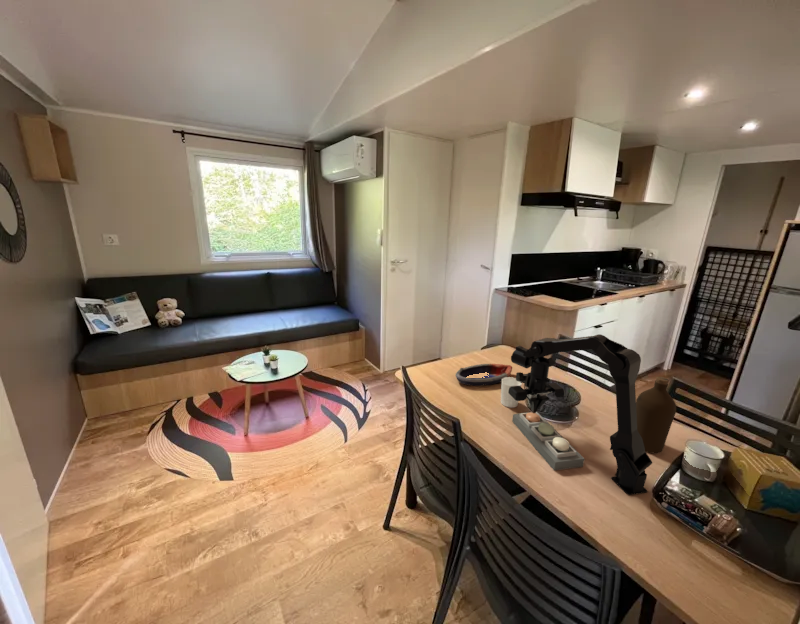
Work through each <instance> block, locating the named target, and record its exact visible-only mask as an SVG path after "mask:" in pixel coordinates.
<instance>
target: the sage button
mask: <svg viewBox="0 0 800 624" xmlns="http://www.w3.org/2000/svg"><path fill="white" fill-rule="evenodd" d="M548 423H549V422H548ZM548 423H540V424H539V428H538V430H539V432H540V433H542V434H544V435H553V433H554V429H555V427H554V426H553V425H551V424H550V423H549V424H548Z"/></svg>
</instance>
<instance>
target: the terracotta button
mask: <svg viewBox="0 0 800 624" xmlns="http://www.w3.org/2000/svg"><path fill="white" fill-rule="evenodd" d="M526 413H527V414H526V419H527V420H528V421H529V422H530V423H534V422H540V416H539V415H538V414H536V413H532V411H530V413H529V412H526Z"/></svg>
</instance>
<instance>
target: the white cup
mask: <svg viewBox="0 0 800 624" xmlns="http://www.w3.org/2000/svg"><path fill="white" fill-rule="evenodd" d="M522 385H523V383H520V382H519V381H517V380H516V377H513V376H511V377H510V376H509V377H505V378H503V379H502V382H500V386H501V387H500V403H501V405H503V406H504V407H505V408H510V409H511V408H516V407H518V404H519V401H516V400H515V399H514V398H513V397H512V396H511V395H510V394H509V393H508V392H509V388H510V387H511V386H521V387H522Z"/></svg>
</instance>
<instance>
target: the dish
mask: <svg viewBox="0 0 800 624" xmlns="http://www.w3.org/2000/svg"><path fill="white" fill-rule="evenodd" d="M485 372H487V373H489V375H488V374H487V375H488V376H489V377H488V376H484V377H485V378H483V377H482V378H466V377H467V376H469V375H473V374H479V373H485ZM512 372H513V366H512V365H510V364H501V363H480V364H474V365H471V366H465V367H460V368H459V369H458V370H457V371H456V373H455V377H456V380H457V381H458V382H459V383H460V384H462V385H466V386H479V387H481V386H490V385H495V384H499V383H502V379H503V378H505V377H510V375H511V373H512Z"/></svg>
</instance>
